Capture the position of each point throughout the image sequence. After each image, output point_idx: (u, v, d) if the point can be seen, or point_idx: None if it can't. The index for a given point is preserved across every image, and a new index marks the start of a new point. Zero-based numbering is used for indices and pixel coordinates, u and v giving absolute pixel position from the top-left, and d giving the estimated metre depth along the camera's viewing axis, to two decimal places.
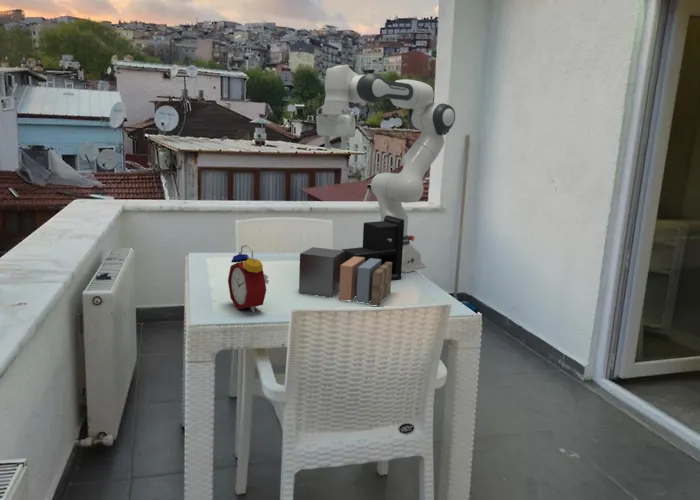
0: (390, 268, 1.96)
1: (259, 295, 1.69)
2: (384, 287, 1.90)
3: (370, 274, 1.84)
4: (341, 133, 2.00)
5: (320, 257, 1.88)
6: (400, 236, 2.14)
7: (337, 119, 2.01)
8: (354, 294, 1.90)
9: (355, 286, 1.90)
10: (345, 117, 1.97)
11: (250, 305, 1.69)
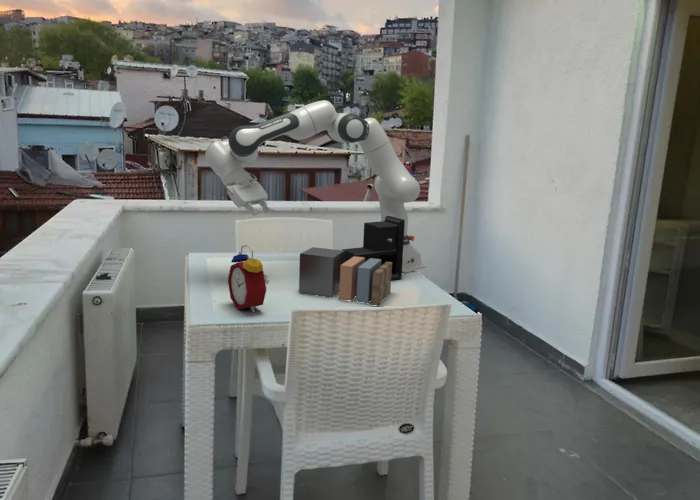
0: (390, 268, 1.96)
1: (259, 295, 1.69)
2: (384, 287, 1.90)
3: (370, 274, 1.84)
4: None
5: (320, 257, 1.88)
6: (401, 236, 2.13)
7: None
8: (354, 294, 1.90)
9: (355, 286, 1.90)
10: None
11: (250, 305, 1.69)
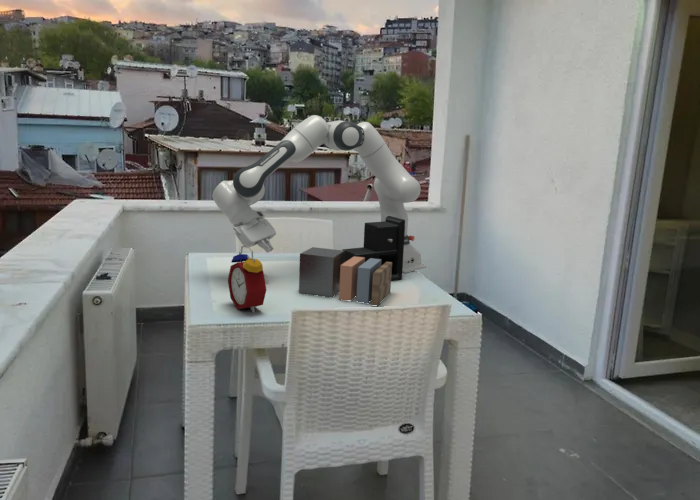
0: (390, 268, 1.96)
1: (259, 295, 1.69)
2: (384, 287, 1.90)
3: (370, 274, 1.84)
4: None
5: (320, 257, 1.88)
6: (401, 236, 2.13)
7: None
8: (354, 294, 1.90)
9: (355, 286, 1.90)
10: None
11: (250, 305, 1.69)
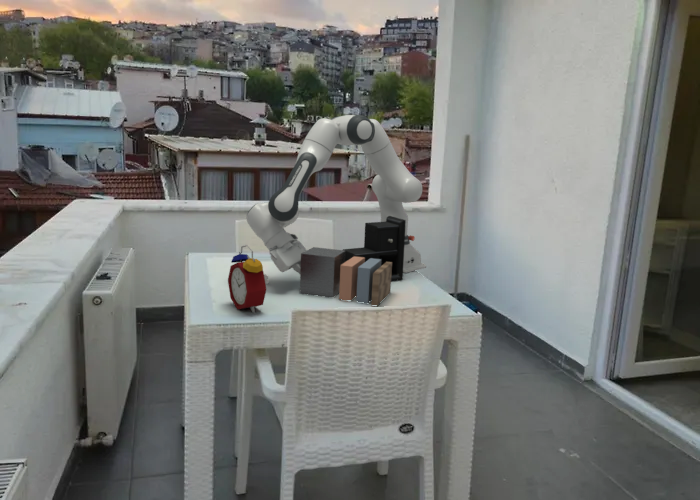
0: (390, 268, 1.96)
1: (259, 295, 1.69)
2: (384, 287, 1.90)
3: (370, 274, 1.84)
4: None
5: (321, 257, 1.88)
6: (401, 237, 2.13)
7: None
8: (354, 294, 1.90)
9: (355, 286, 1.90)
10: None
11: (250, 305, 1.69)
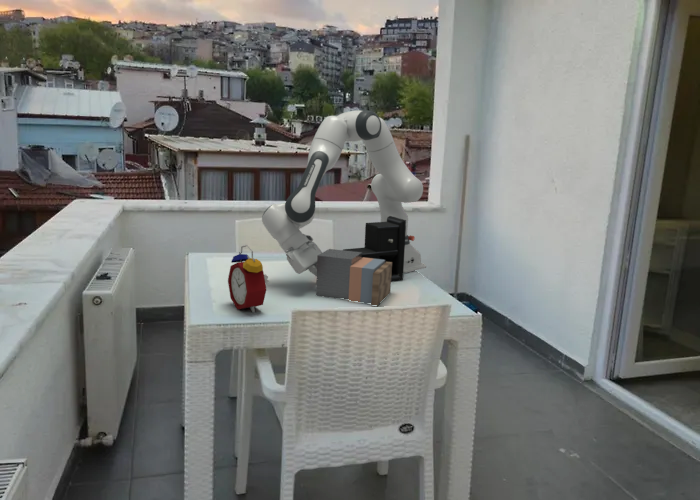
0: (390, 268, 1.96)
1: (259, 295, 1.69)
2: (384, 287, 1.90)
3: None
4: None
5: (338, 259, 1.87)
6: (402, 237, 2.12)
7: None
8: None
9: None
10: None
11: (250, 305, 1.69)
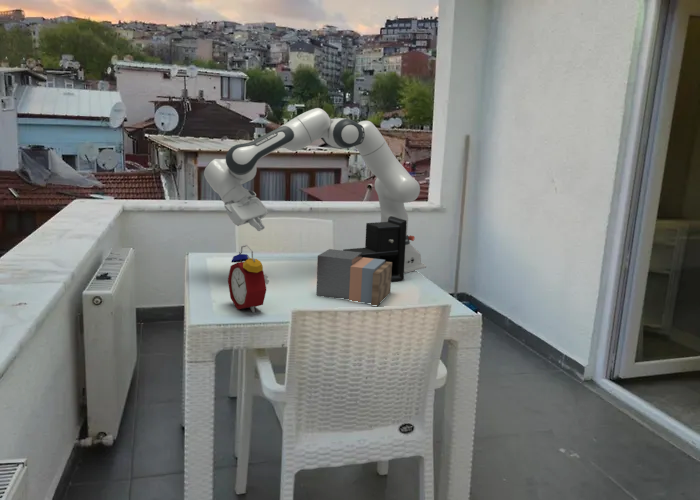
0: (390, 268, 1.96)
1: (259, 295, 1.69)
2: (384, 287, 1.90)
3: None
4: None
5: (338, 259, 1.87)
6: (402, 237, 2.12)
7: None
8: None
9: None
10: None
11: (250, 305, 1.69)
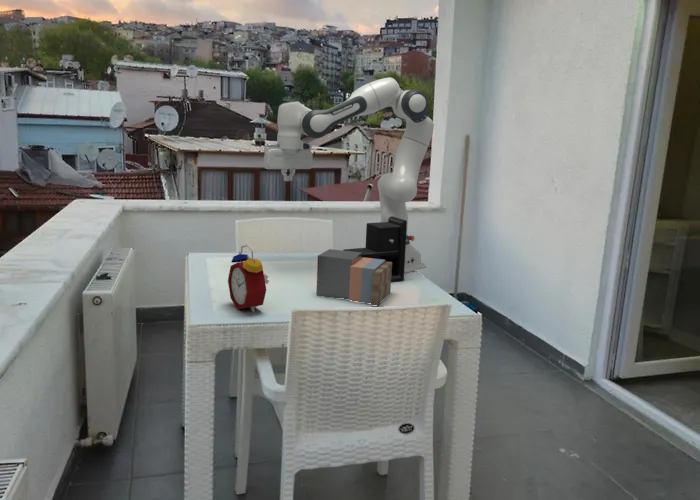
0: (390, 268, 1.96)
1: (259, 295, 1.69)
2: (384, 287, 1.90)
3: None
4: None
5: (338, 259, 1.87)
6: (403, 237, 2.12)
7: None
8: None
9: None
10: None
11: (250, 305, 1.69)
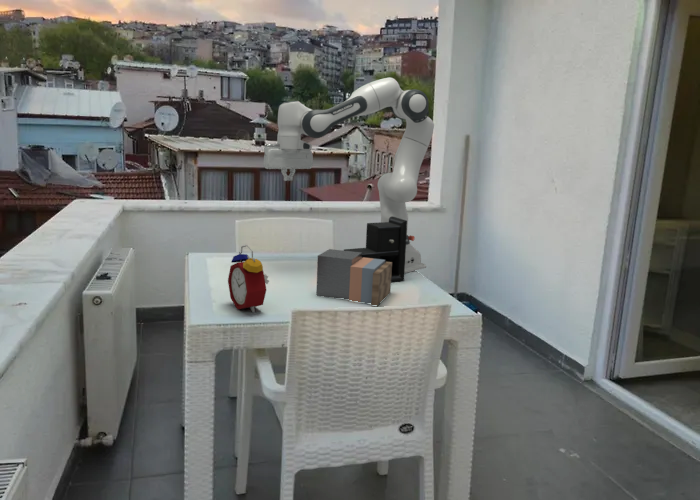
0: (390, 268, 1.96)
1: (259, 295, 1.69)
2: (384, 287, 1.90)
3: None
4: None
5: (338, 259, 1.87)
6: (403, 237, 2.11)
7: None
8: None
9: None
10: None
11: (250, 305, 1.69)
